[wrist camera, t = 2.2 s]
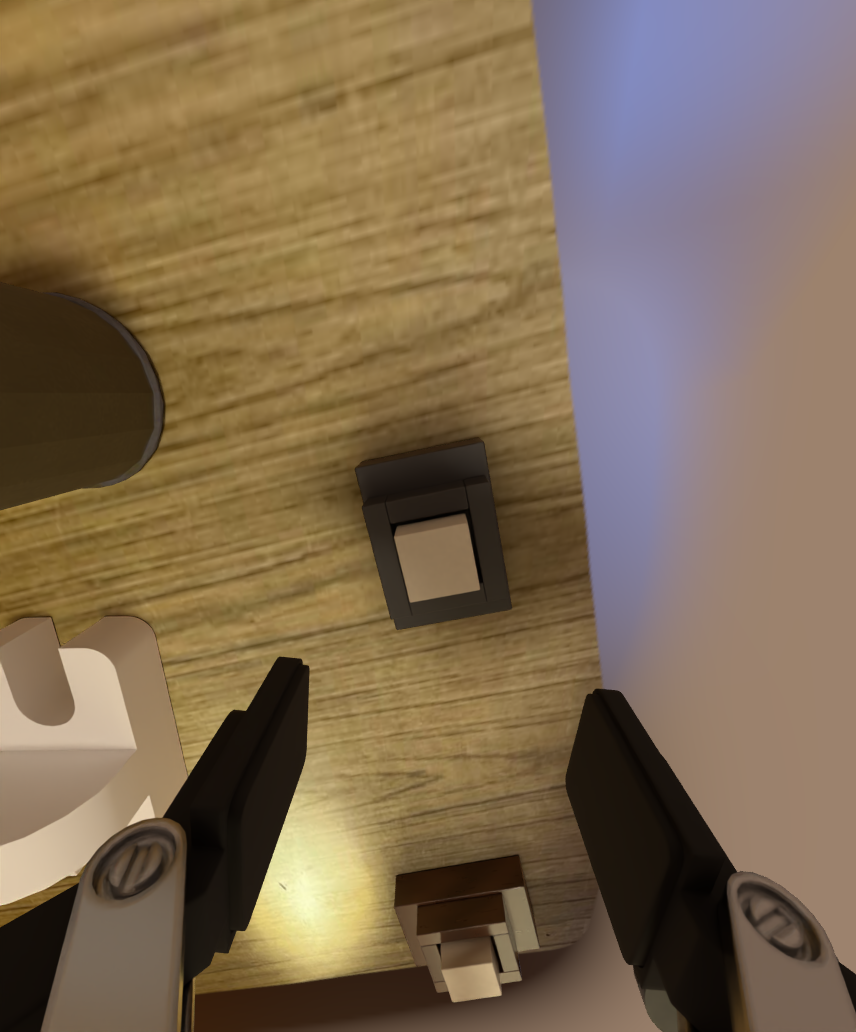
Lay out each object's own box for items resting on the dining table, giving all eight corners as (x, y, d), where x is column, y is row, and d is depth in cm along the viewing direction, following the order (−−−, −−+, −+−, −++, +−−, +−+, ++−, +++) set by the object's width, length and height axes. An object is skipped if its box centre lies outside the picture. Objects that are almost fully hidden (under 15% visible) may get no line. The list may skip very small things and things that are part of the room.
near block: (506, 592, 27) (518, 626, 23) (398, 612, 27) (393, 648, 23) (479, 437, 24) (488, 445, 20) (360, 461, 24) (347, 474, 21)
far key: (488, 931, 30) (492, 963, 29) (498, 963, 31) (502, 996, 29) (440, 938, 30) (440, 970, 29) (451, 970, 31) (452, 1002, 30)
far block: (518, 855, 33) (530, 915, 29) (533, 915, 35) (546, 979, 31) (396, 875, 34) (391, 937, 30) (417, 933, 36) (415, 998, 32)
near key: (476, 575, 22) (480, 590, 21) (411, 587, 23) (409, 603, 21) (464, 512, 21) (467, 522, 20) (396, 525, 22) (393, 536, 20)
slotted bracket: (198, 823, 32) (102, 1000, 23) (76, 824, 32) (-70, 1000, 23) (150, 615, 27) (2, 732, 18) (5, 618, 27) (-218, 734, 18)
